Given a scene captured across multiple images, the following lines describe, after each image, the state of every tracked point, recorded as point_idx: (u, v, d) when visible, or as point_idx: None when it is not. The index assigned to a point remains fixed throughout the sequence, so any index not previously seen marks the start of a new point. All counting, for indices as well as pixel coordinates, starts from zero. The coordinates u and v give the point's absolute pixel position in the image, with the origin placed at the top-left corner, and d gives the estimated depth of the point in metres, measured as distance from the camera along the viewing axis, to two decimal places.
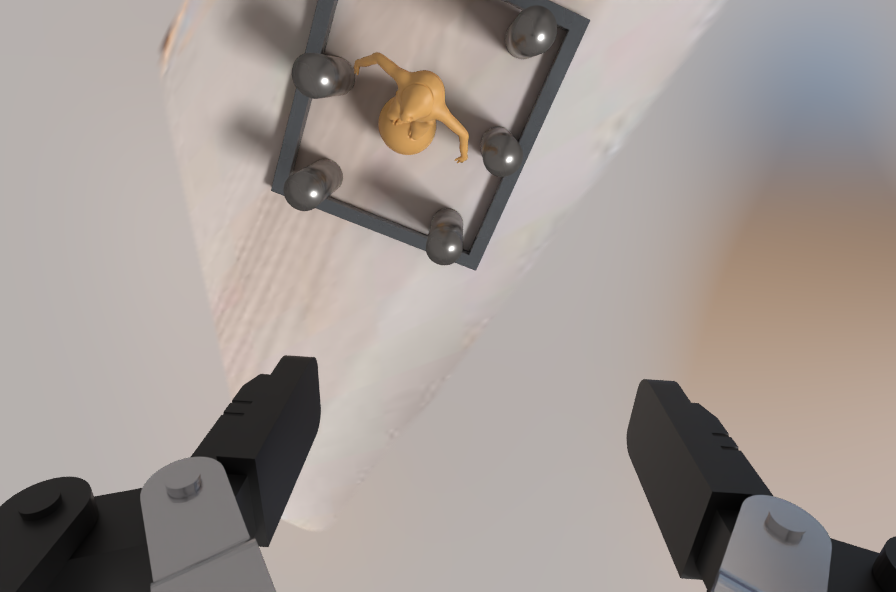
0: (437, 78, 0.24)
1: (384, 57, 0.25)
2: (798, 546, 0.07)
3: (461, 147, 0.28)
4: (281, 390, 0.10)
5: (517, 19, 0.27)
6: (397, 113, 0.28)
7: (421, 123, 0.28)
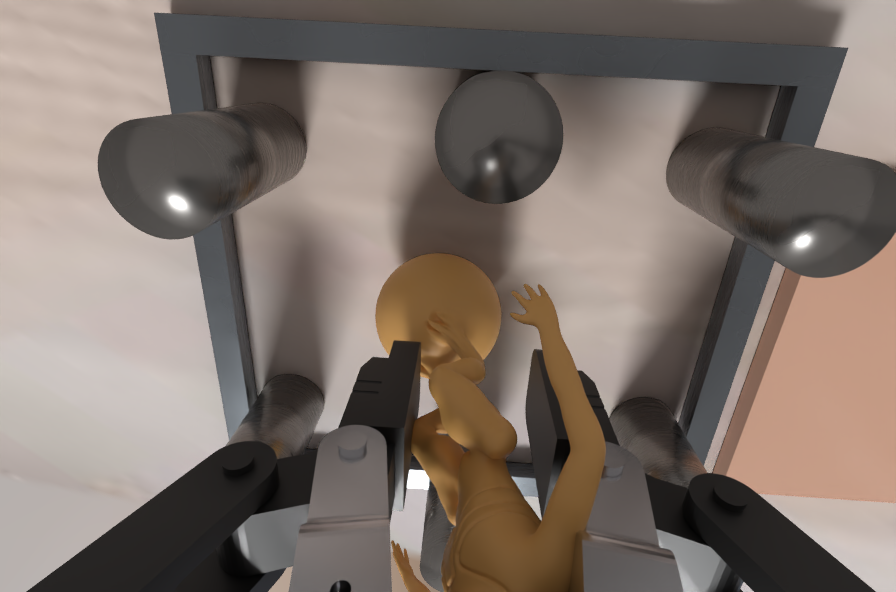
0: None
1: (599, 482, 0.07)
2: (612, 479, 0.08)
3: None
4: (404, 370, 0.11)
5: None
6: (448, 422, 0.10)
7: (445, 490, 0.11)
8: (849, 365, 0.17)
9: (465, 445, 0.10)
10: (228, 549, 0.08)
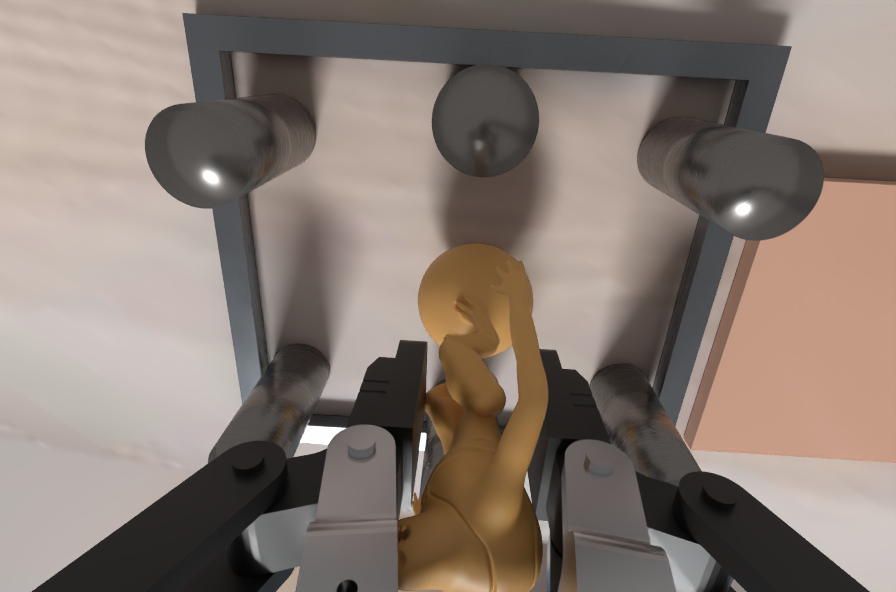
0: None
1: (539, 426, 0.08)
2: (603, 478, 0.08)
3: None
4: (411, 370, 0.11)
5: (683, 469, 0.15)
6: (449, 383, 0.12)
7: (447, 444, 0.12)
8: (803, 331, 0.19)
9: (461, 404, 0.12)
10: (237, 548, 0.08)
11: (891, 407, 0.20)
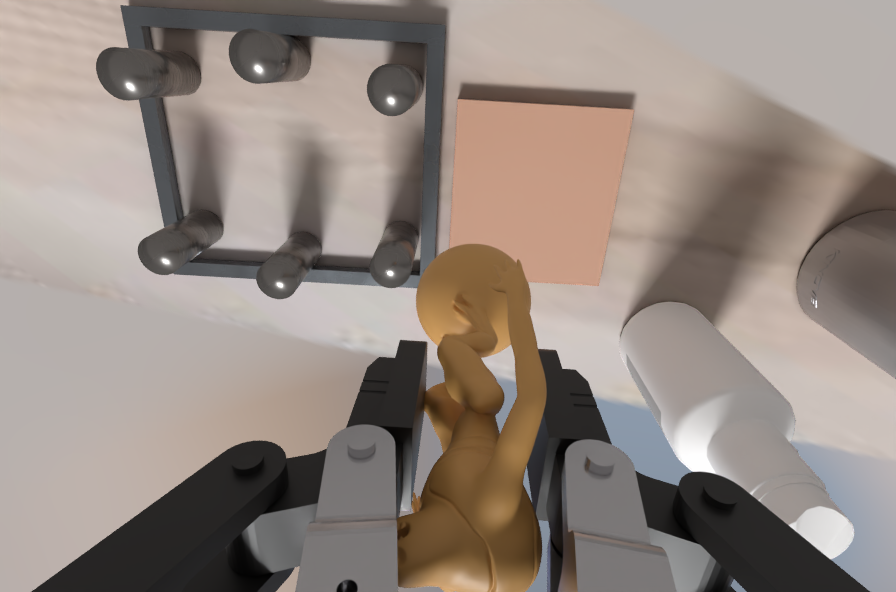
0: (527, 589, 0.09)
1: (537, 423, 0.08)
2: (603, 478, 0.08)
3: None
4: (411, 370, 0.11)
5: (392, 251, 0.29)
6: (448, 382, 0.12)
7: (446, 443, 0.12)
8: (494, 194, 0.33)
9: (460, 402, 0.12)
10: (237, 548, 0.08)
11: (558, 245, 0.34)
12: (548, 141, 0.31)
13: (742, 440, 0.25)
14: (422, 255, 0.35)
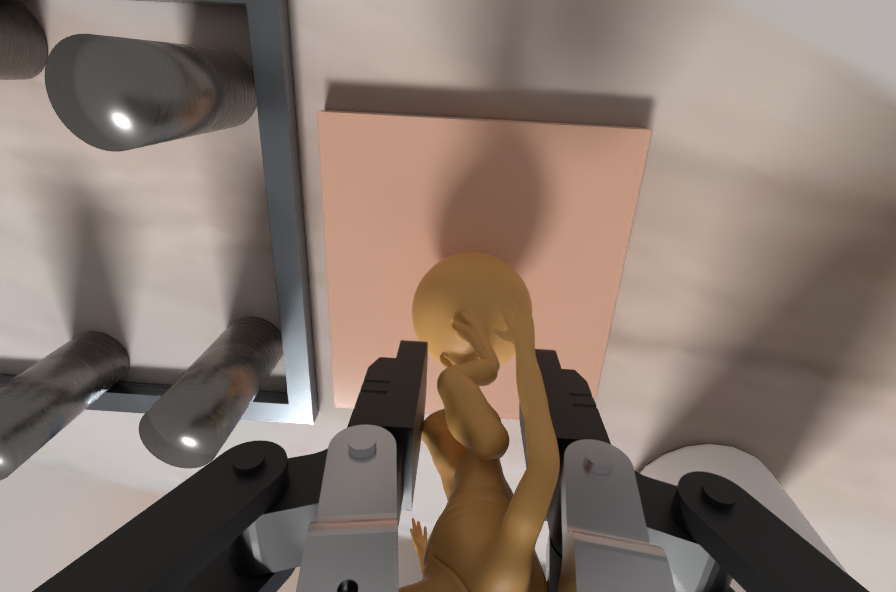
0: None
1: (551, 498, 0.08)
2: (602, 478, 0.08)
3: None
4: (412, 370, 0.11)
5: (176, 408, 0.15)
6: (449, 421, 0.11)
7: (447, 481, 0.12)
8: (400, 278, 0.18)
9: (462, 444, 0.11)
10: (238, 548, 0.08)
11: None
12: (492, 188, 0.17)
13: None
14: (288, 374, 0.20)
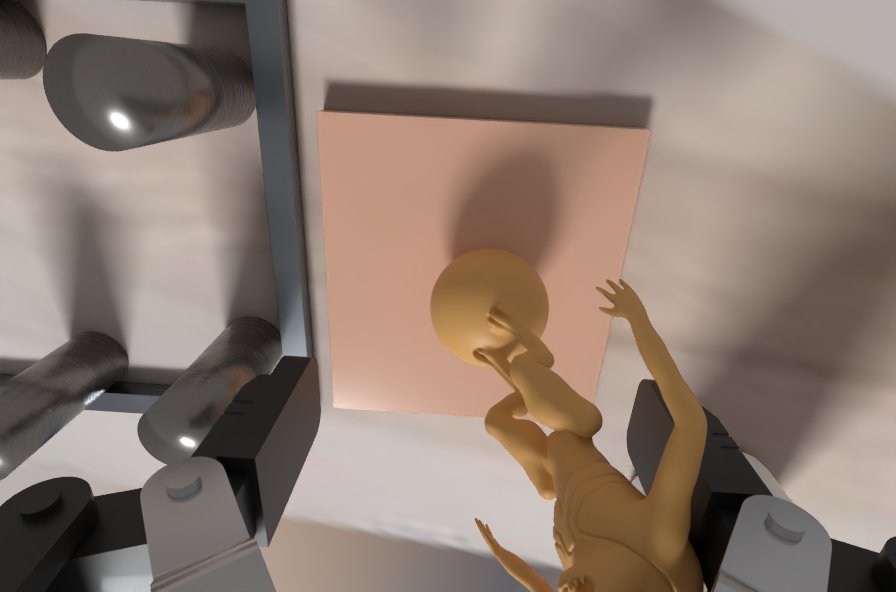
0: None
1: (703, 451, 0.08)
2: (798, 546, 0.07)
3: (520, 580, 0.12)
4: (281, 390, 0.10)
5: (175, 409, 0.15)
6: (535, 407, 0.11)
7: (534, 469, 0.12)
8: (399, 279, 0.18)
9: (554, 427, 0.11)
10: None
11: None
12: (492, 188, 0.17)
13: None
14: None
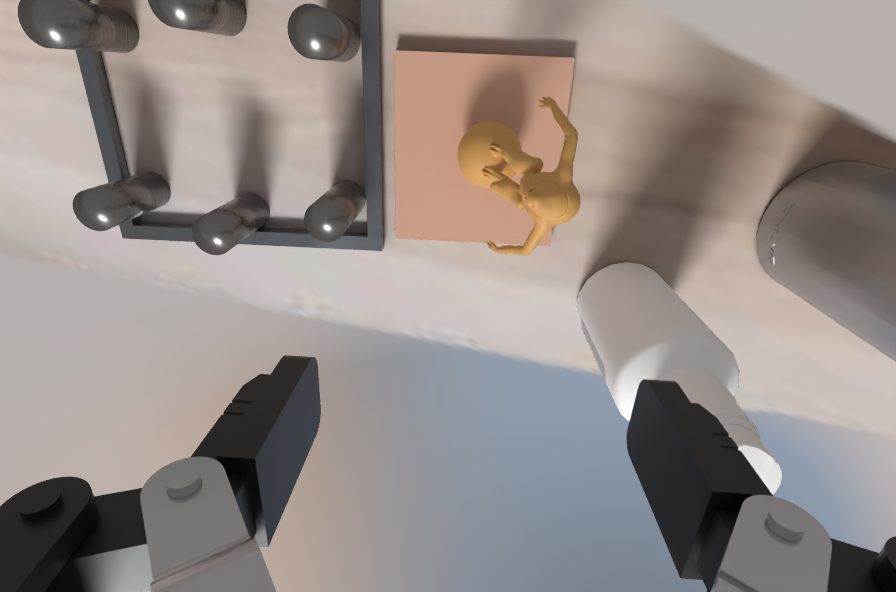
0: (576, 212, 0.22)
1: (576, 144, 0.22)
2: (798, 546, 0.07)
3: (509, 249, 0.25)
4: (281, 390, 0.10)
5: (326, 203, 0.29)
6: (513, 163, 0.25)
7: (514, 195, 0.25)
8: (437, 150, 0.32)
9: (522, 170, 0.25)
10: None
11: (506, 202, 0.33)
12: (489, 93, 0.31)
13: None
14: (368, 215, 0.34)
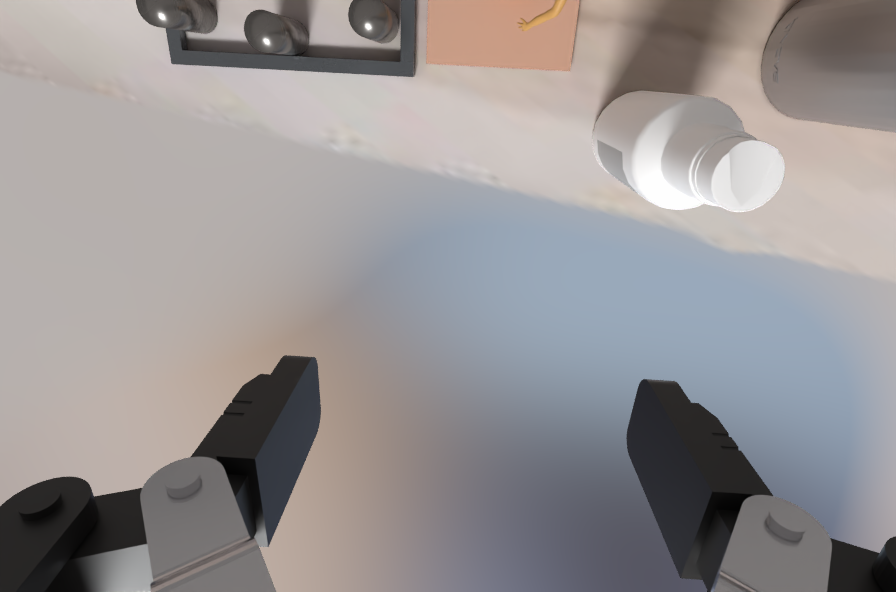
0: None
1: None
2: (798, 546, 0.07)
3: (540, 16, 0.28)
4: (281, 390, 0.10)
5: None
6: None
7: None
8: None
9: None
10: None
11: None
12: None
13: (690, 132, 0.27)
14: (402, 39, 0.37)
